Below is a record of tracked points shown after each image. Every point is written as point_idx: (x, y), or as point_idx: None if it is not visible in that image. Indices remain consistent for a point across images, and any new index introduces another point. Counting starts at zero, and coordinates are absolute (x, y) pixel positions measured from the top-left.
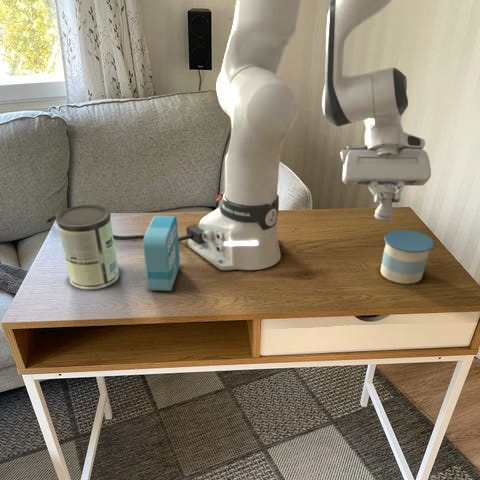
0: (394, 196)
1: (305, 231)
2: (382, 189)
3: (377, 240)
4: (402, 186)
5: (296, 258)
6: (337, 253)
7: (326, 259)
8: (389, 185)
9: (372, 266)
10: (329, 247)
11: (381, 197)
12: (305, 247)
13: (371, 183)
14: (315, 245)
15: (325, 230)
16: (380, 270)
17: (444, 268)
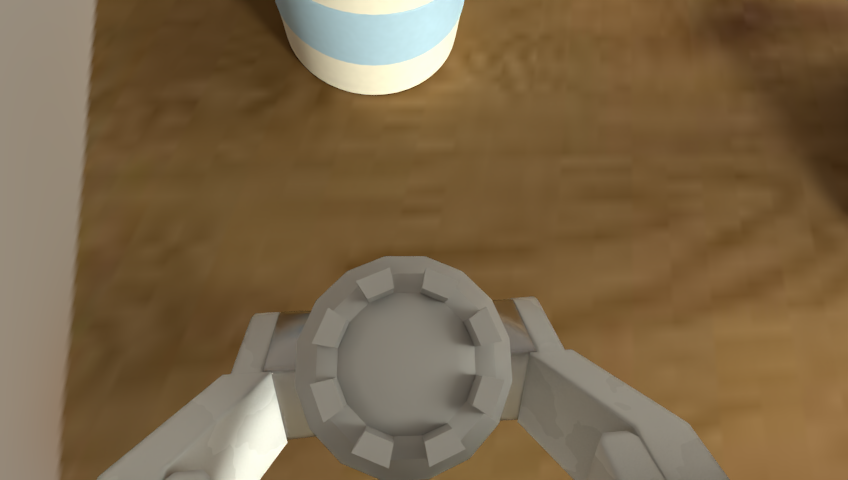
0: None
1: (795, 418)
2: (507, 346)
3: None
4: (149, 460)
5: (791, 134)
6: (624, 179)
7: (670, 127)
8: (391, 438)
9: (481, 72)
10: (661, 236)
11: None
12: (769, 232)
13: (710, 457)
14: (727, 254)
15: None
16: (455, 35)
17: (159, 53)
